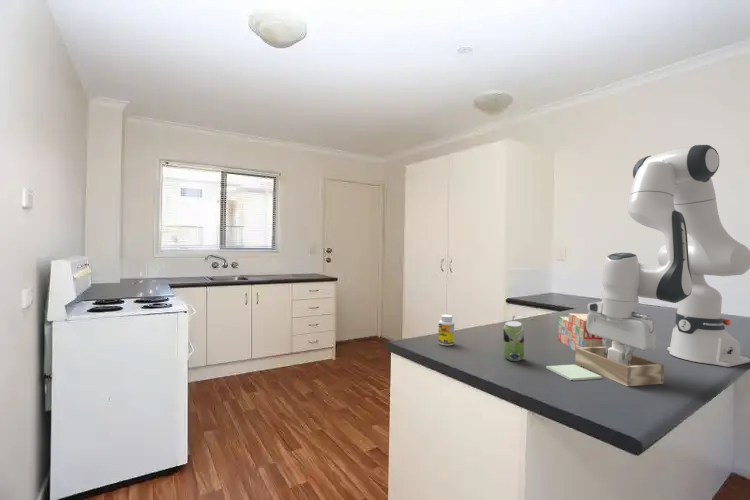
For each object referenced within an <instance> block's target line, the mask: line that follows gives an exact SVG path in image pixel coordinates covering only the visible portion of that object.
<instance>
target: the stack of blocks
mask: <svg viewBox="0 0 750 500" xmlns="http://www.w3.org/2000/svg"><path fill="white" fill-rule="evenodd" d="M587 314H588V313H573V312H572V313H571V312H569V313H568V316H558V320H557V321H558V322H557V323H558V332H557V333H558V335H557V338H558V339H557V340H558V341H559V342H561V343H563V344H564V345H565V346H566V347H568V348H569V349H571V350H573V351H575V353H576V348H584V347H603V341H602V337H600V336H596V335H593V334H590V333H588V331H587V327H586V324H587Z"/></svg>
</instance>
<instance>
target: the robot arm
mask: <svg viewBox="0 0 750 500" xmlns="http://www.w3.org/2000/svg"><path fill="white" fill-rule="evenodd" d="M719 167H720V156H719V153H718V151H717V149H716V148H715V147H713V146H712V145H709V144H696V145H693V146H686V147H685V146H684V147H679V148H675V149H674V148H673V149H669V150H668V151H665V152H664V151H663V152H659V153H657V154H656V153H655V154H653V155H648V156H645V157H643V158H641V159H639V160H638V161H637V162H636V163H635V165H634V167H633V169H632V177H633V180H632V183H631V187H630V192H629V197H628V202H627V211H628V214H629V216H630V218H631V219H632V220H634V221H635V222H636V223H637V224H640V225H642V226H644V227H647V228H651V229H654V230H656V231H659V232H662V234H663V235H664V236H665V241H666V242H665V244H663V245H662V246H661V247H660V248H659V250H658V252H657V255H656V256H657V262H658V264H659V265H651V264H641V263H640V262H639V259H638V255H637V254H635V253H632V252H619V253H618V252H616V253H611V254H608V255H607V256H606V257H605V260H604V265H603V271H602V286H603V293H602V295H601V301H596V302H591V303H588V304H587V310H588V312H587V313H586V314H587V324H586V327H587V331H588V333H590V334H593V335H596V336H600V337H602V345H603V347H606V351H605V352H606V353H607V354H608V348H610V347H612V341H616V342H619V343H622V344H625V347H624V349H626V352H625V353H623V356H622V358H623V360H626V361H630V360H631V356H632V355H634V353H635V352H636V349H639V350H641V351H654V350H655V349H656V348H657V334H656V327H655V326H656V325H655V324H656V323H655V320H653V319H652V318H651V317H650V315H647V314H643V313H639V298H643V299H644V298H646V299H652V300H653V299H654V300H659V301H662V302H668V303H673V304H676V303H677V309H676V310H677V311H676V313H675V317H674V323H675V326H674V327H673V329H672V333H671V341H670V346H667V351H669V354H670V355H671V356H673V357H676V358H679V359H683V360H686V361H690V362H694V363H695V362H696V363H701V364H707V365H716V366H721V367H727V368H730V367H734V366H739V365H743V364H747V363H750V357H746V356H743V355H741V344H740V342H739V341H738V340H737V339H736V338H734V337H733V336H732V335H731V334H730V333H729V332H727V331H726V327H725V326H731V324H732V321H731V319H729V318H722V303H723V298H722V294H721V292H720V291H718V290H717V289H716V288H714V287H712V286H710V285H709V284H708V282H707V280H706V279H705V276H716V277H731V276H733V277H734V276H741V275H744V274H745V273H747V272H748V271H749V270H750V249H749V247H747V245H745V244H743V243H741V242H739V241H738V240H736V239H734V238H733V237H732V236H731V235H730V233H728V232H727V230H726V229H725V228H724V226H723V223H722V221H721V219H720V215H719V214H720V213H719V211H718V210H719V209H718V203H717V196H716V195H717V194H716V190H715V186H714V184H713V181H712V177H714V175H715V174H716V172H717V171H718V169H719ZM688 236H689V237H690V238H691V239H692V240H693V241H688Z"/></svg>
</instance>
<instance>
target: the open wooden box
mask: <svg viewBox="0 0 750 500" xmlns="http://www.w3.org/2000/svg"><path fill="white" fill-rule="evenodd" d="M605 351H606V347H605V346H602V347H584V348H576V352H575V361H574V362H575V364H574V365H577V366H579V367H581V366H582V368H583V367H584V369H586V370H589V371H590V370H591V372H593V373H595V374H598V375H600V376H602V377H604V378H606V379H609V380H611V381H614V382H616V383H619V384H621V385H623V386H625V387H635V386H647V385H663V384H664V379H665V365H664V364H662V363H659V362H656V361H653V360H650V359H647V358H644V357H642V356H638V355H636V354H632V356H631V360H630V361H628V366H626V365H624V364H621V363H618V362H616V361H613V360H610V359H608V354H607V353H606V352H605Z"/></svg>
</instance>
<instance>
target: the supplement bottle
mask: <svg viewBox="0 0 750 500" xmlns="http://www.w3.org/2000/svg"><path fill="white" fill-rule="evenodd" d="M437 337H438V339H437V342H438V344H439V345H441V346H453V345H454V342H455V321H453V315H451V314H450V315H449V314H442V315H441V316H440V320H439V321H438V335H437Z"/></svg>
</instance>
